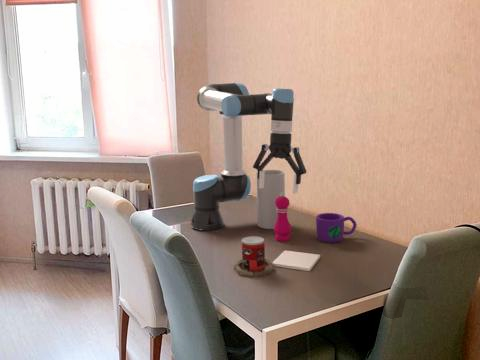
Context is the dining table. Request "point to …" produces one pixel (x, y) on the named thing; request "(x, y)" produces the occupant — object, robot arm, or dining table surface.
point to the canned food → (253, 253)
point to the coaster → (296, 260)
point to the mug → (332, 227)
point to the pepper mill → (282, 219)
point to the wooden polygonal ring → (254, 273)
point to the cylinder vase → (269, 197)
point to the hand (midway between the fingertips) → (278, 190)
